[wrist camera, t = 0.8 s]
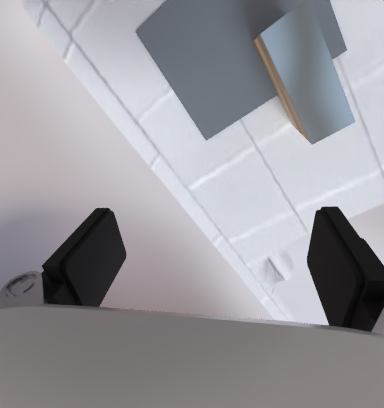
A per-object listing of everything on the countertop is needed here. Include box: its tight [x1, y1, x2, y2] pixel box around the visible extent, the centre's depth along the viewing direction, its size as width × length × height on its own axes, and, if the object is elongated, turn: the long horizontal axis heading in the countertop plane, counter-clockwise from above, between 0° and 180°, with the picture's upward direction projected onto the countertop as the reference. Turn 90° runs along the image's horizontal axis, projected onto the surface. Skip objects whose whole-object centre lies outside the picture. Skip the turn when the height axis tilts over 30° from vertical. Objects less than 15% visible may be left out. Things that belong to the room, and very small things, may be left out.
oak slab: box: [253, 0, 355, 144], centre depth 22 cm, size 4×10×8 cm, turn 35°
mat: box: [136, 0, 347, 140], centre depth 25 cm, size 17×14×1 cm
